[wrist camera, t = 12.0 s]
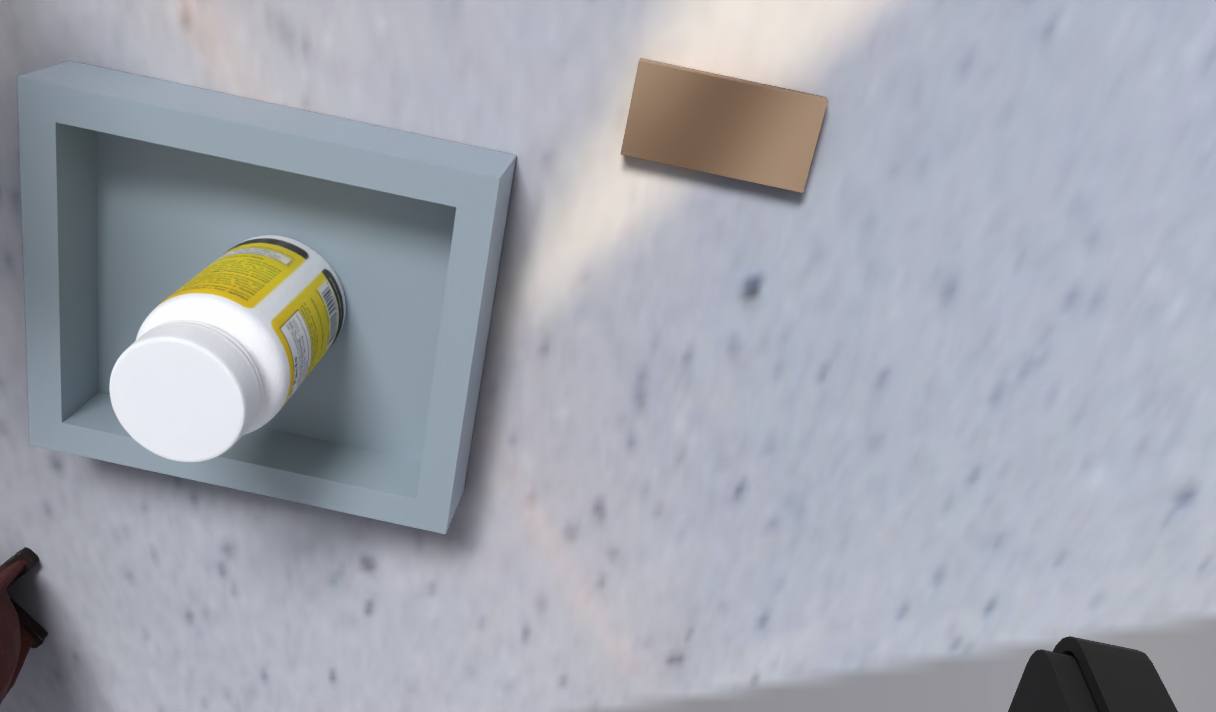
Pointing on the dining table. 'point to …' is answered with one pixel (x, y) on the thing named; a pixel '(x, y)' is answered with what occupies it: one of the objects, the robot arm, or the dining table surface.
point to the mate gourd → (15, 622)
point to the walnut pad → (723, 125)
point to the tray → (231, 213)
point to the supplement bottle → (227, 349)
